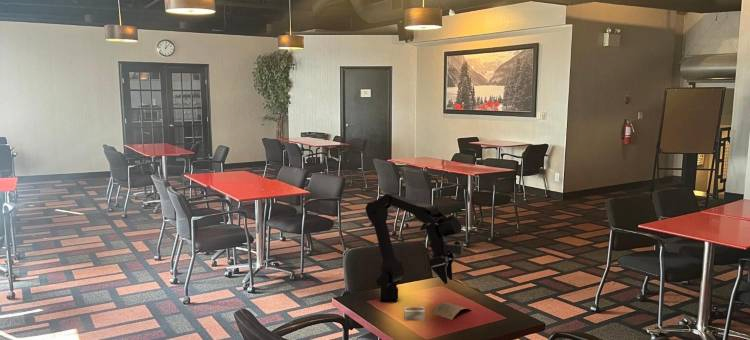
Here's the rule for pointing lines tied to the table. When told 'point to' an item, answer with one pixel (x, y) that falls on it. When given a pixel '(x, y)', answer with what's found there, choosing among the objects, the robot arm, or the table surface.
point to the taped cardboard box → (414, 313)
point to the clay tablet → (447, 310)
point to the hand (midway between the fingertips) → (448, 281)
